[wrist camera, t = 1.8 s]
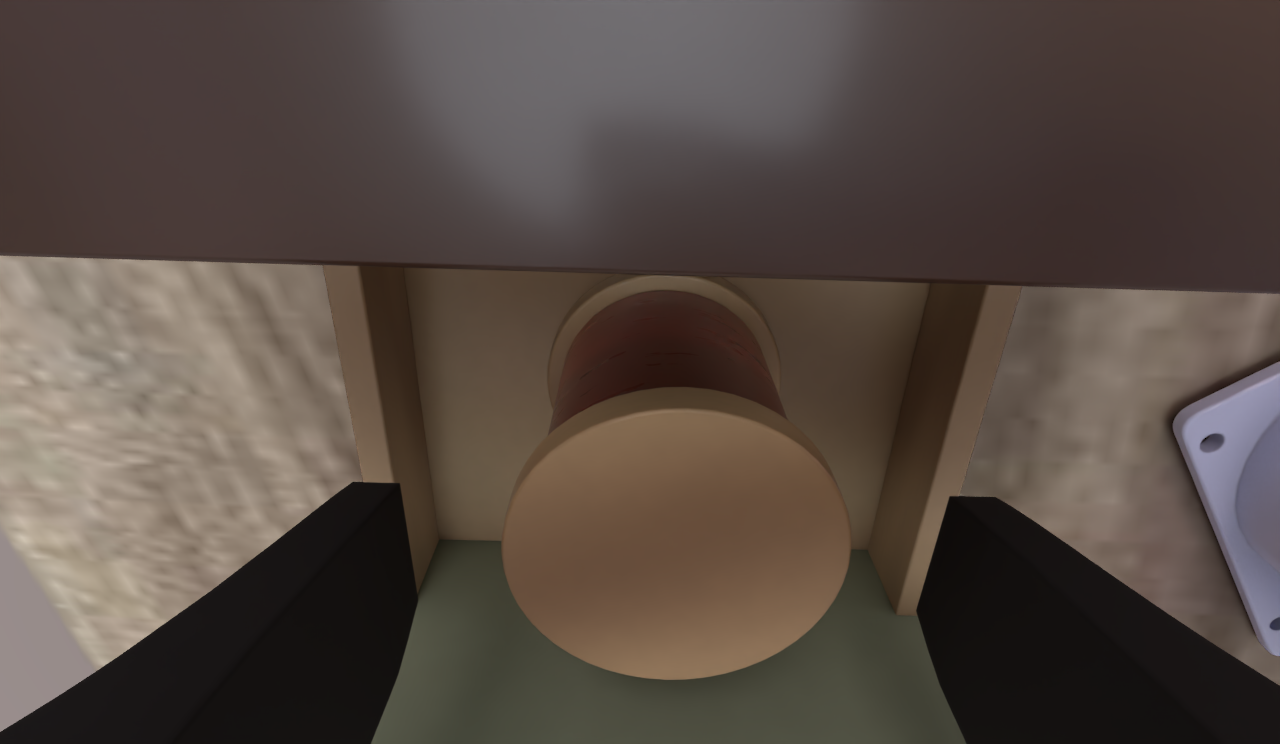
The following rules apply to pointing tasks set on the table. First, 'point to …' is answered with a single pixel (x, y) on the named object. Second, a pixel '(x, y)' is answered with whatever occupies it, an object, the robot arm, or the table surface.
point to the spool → (672, 489)
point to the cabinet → (654, 137)
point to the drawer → (520, 420)
